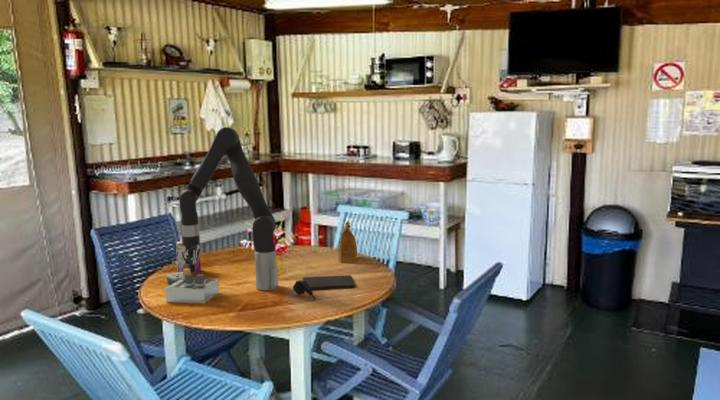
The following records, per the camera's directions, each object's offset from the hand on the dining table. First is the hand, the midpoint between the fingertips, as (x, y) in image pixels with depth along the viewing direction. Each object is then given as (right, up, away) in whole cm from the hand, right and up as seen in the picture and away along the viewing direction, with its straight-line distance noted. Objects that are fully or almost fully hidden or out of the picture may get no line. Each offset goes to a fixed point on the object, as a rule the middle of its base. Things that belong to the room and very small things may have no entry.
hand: (192, 272), depth 245 cm
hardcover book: (+61, -7, +7) cm, 61 cm away
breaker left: (+8, -4, -15) cm, 17 cm away
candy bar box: (-10, -5, +27) cm, 30 cm away
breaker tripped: (-1, -2, -6) cm, 6 cm away
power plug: (+55, -12, -14) cm, 58 cm away
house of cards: (-23, -3, +42) cm, 48 cm away
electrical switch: (-7, -7, +9) cm, 13 cm away
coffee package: (+69, -2, +45) cm, 82 cm away
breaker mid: (+3, -3, -14) cm, 15 cm away
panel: (+3, -9, -10) cm, 14 cm away
